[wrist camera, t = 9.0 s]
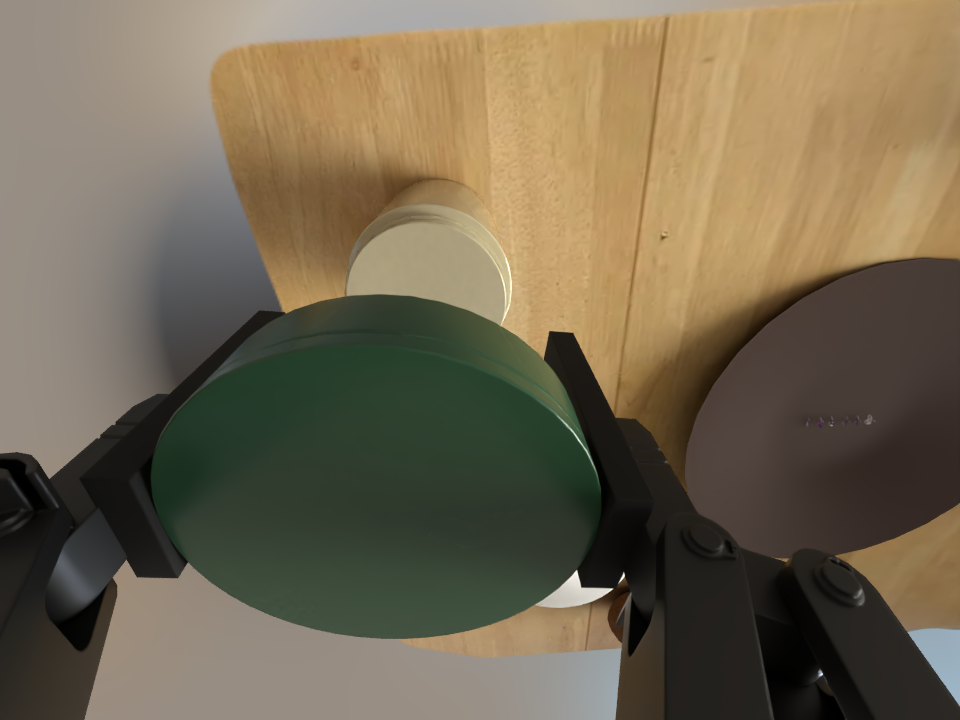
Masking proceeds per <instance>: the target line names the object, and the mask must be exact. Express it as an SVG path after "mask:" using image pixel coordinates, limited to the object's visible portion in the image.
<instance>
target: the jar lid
mask: <svg viewBox="0 0 960 720" xmlns="http://www.w3.org/2000/svg"><path fill="white" fill-rule="evenodd" d="M150 483H151V495H152V500H153V503H154V507H155V510H156V513H157V515H158V518H159V520H160V522H161V524H162V526H163V528H164V530H165V532H166V534H167V536H168V537H169V539H170V541H171V542H172V543H173V545H174V546H175V548H176V549H177V550H178V552H179V553H180V554H181V555H182V556H183V557H184V558H185V559H186V560H187V561H188V562H189V563H190V565H191V566H192V567H193V568H194V569H195V570H197V571H198V572H199V573H200V574H202V575H203V576H204V577H205V578H206V579H207V580H209V581H210V582H211V583H212V584H214V585H216V586H217V587H218V588H220V589H221V590H223V591H224V592H226V593H227V594H229V595H230V596H232V597H234V598H236V599H238V600H239V601H241V602H243V603H245V604H247V605H249V606H251V607H253V608H256V609H258V610H260V611H262V612H264V613H266V614H269V615H271V616H274V617H277V618H279V619H282V620H285V621H288V622H291V623H294V624H297V625H301V626H305V627H308V628H312V629H316V630H321V631H326V632H331V633H335V634H342V635H349V636H356V637H367V638H368V637H369V638H381V639H408V638H426V637H434V636H442V635H449V634H454V633H459V632H465V631H469V630H473V629H477V628H480V627H484V626H488V625H491V624H493V623H496V622H499V621H502V620H504V619H507V618H510V617H512V616H514V615H516V614H518V613H520V612H523V611H525V610H527V609H528V608H530V607H532V606H534V605H535V604H537V603H539V602H540V601H542V600H544V599H545V598H546V597H548V596H549V595H550V594H552V593H553V592H555V591H556V590H557V589H559V588H560V587H561V586H562V585H563V584H564V583H565V582H566V581H567V580H568V579H569V578H570V577H571V576H572V575H573V574H574V573H575V572H576V570H577V569H578V568H579V567H580V565H581V564H582V563H583V562H584V560H585V558H586V556H587V555H588V553H589V551H590V549H591V547H592V544H593V542H594V539H595V537H596V534H597V531H598V529H599V524H600V518H601V512H602V496H601V487H600V483H599V478H598V474H597V470H596V467H595V465H594V462H593V459H592V457H591V454H590V451H589V448H588V446H587V443H586V440H585V437H584V435H583V432H582V429H581V427H580V424H579V421H578V418H577V416H576V413H575V410H574V408H573V405H572V403H571V401H570V398H569V396H568V394H567V392H566V389H565V388H564V386H563V385H562V383H561V382H560V380H559V378H558V377H557V375H556V374H555V372H554V371H553V370H552V369H551V367H550V366H549V365H548V364H547V363H546V362H545V361H544V360H543V359H542V357H541V356H540V355H539V354H538V353H537V352H536V351H535V350H533V349H532V348H531V347H530V346H528V345H527V344H526V343H525V342H524V341H522V340H521V339H520V338H519V337H518V336H516V335H515V334H513V333H511V332H509V331H508V330H506V329H505V328H503V327H501V326H500V325H498V324H497V323H495V322H493V321H491V320H488V319H486V318H484V317H482V316H480V315H478V314H475V313H473V312H472V311H469V310H467V309H463V308H459V307H456V306H453V305H450V304H447V303H443V302H440V301H435V300H429V299H424V298H419V297H415V296H402V295H387V294H372V295H353V296H346V297H341V298H335V299H330V300H324V301H320V302H317V303H314V304H311V305H308V306H305V307H301V308H298V309H295V310H293V311H291V312H289V313H287V314H285V315H283V316H281V317H279V318H277V319H275V320H273V321H271V322H269V323H268V324H266V325H265V326H263V327H262V328H261V329H259V330H258V331H256V332H255V333H254V334H252V335H251V336H249V337H248V338H247V339H246V340H245V341H244V342H243V343H242V344H241V345H240V346H239V347H238V348H237V349H236V350H235V351H234V352H233V353H232V354H231V355H230V357H229V358H228V359H227V360H226V361H225V362H224V363H223V364H222V365H221V366H220V367H219V368H218V369H217V370H216V371H215V372H214V373H213V374H212V375H211V376H210V377H209V378H208V379H207V380H206V381H205V382H204V383H203V384H202V385H201V386H200V387H199V388H198V389H197V390H196V391H195V392H194V393H193V394H192V395H191V396H190V397H189V398H188V399H187V400H186V401H185V402H184V403H183V404H182V405H181V406H180V407H179V408H178V409H177V410H176V411H175V413H174V414H173V416H172V417H171V419H170V420H169V422H168V423H167V425H166V426H165V428H164V429H163V431H162V432H161V435H160V438H159V440H158V443H157V445H156V448H155V451H154V453H153V459H152V466H151V473H150Z"/></svg>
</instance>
